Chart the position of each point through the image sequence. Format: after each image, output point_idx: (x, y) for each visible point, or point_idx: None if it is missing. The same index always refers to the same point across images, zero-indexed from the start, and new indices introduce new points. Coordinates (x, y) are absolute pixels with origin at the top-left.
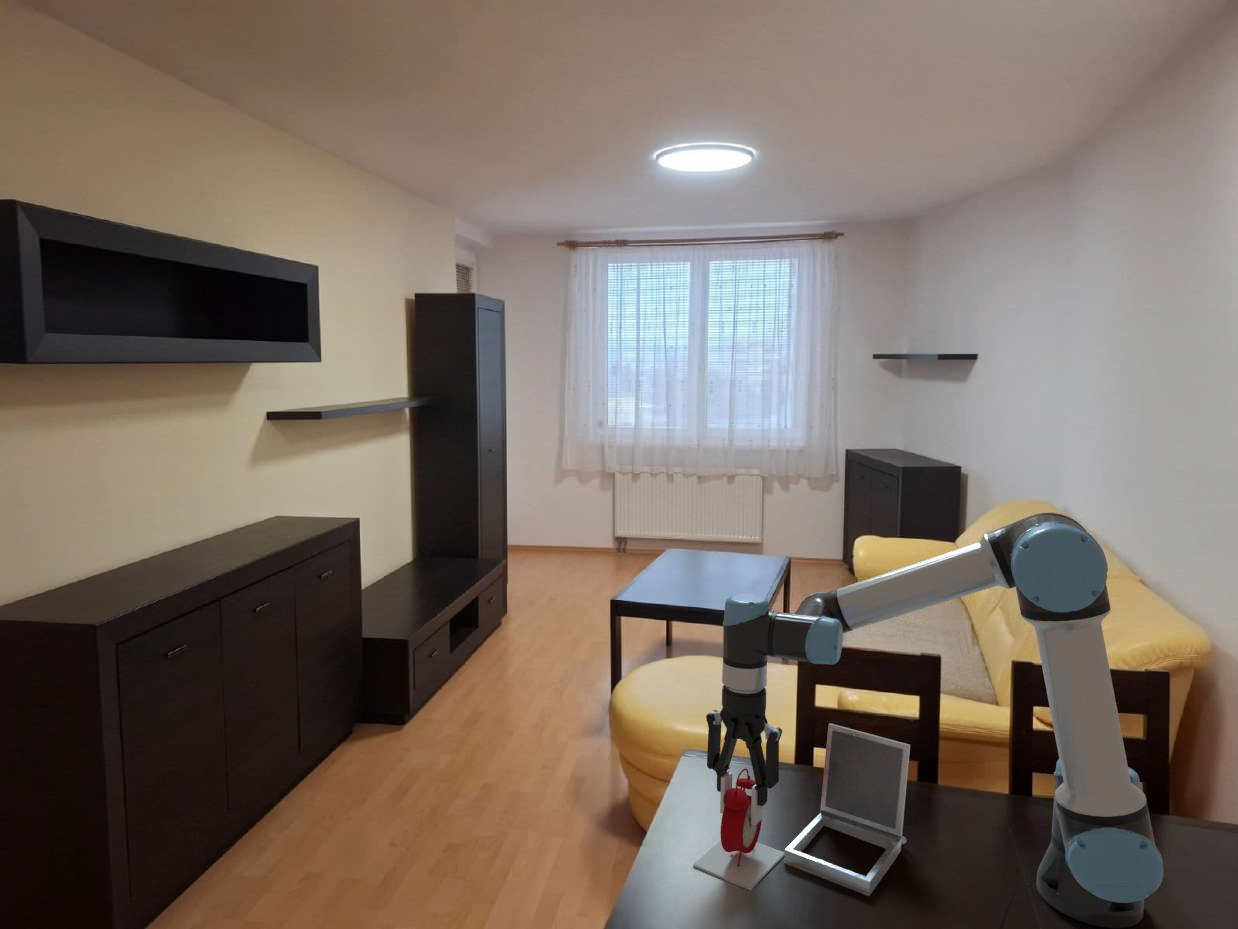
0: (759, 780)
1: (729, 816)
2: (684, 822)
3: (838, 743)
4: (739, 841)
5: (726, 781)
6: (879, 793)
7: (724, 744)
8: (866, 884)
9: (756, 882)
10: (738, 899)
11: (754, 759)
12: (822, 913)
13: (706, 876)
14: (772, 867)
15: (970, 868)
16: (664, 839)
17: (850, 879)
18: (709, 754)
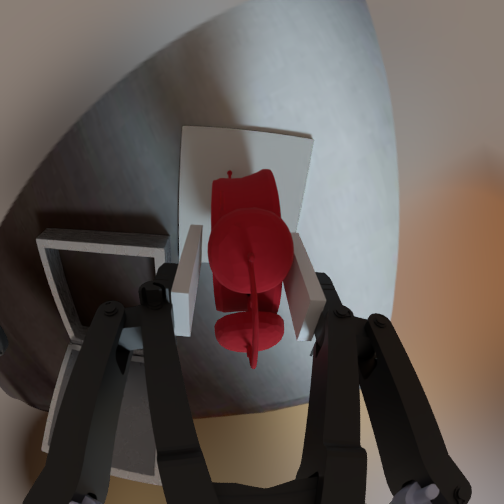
0: (150, 320)
1: (258, 206)
2: (367, 257)
3: (140, 458)
4: (220, 178)
5: (304, 299)
6: None
7: (355, 425)
8: (41, 235)
9: (181, 150)
10: (192, 90)
11: (163, 400)
12: (68, 149)
13: (277, 122)
14: (179, 213)
15: (30, 327)
16: (384, 196)
17: (60, 236)
18: (399, 356)
